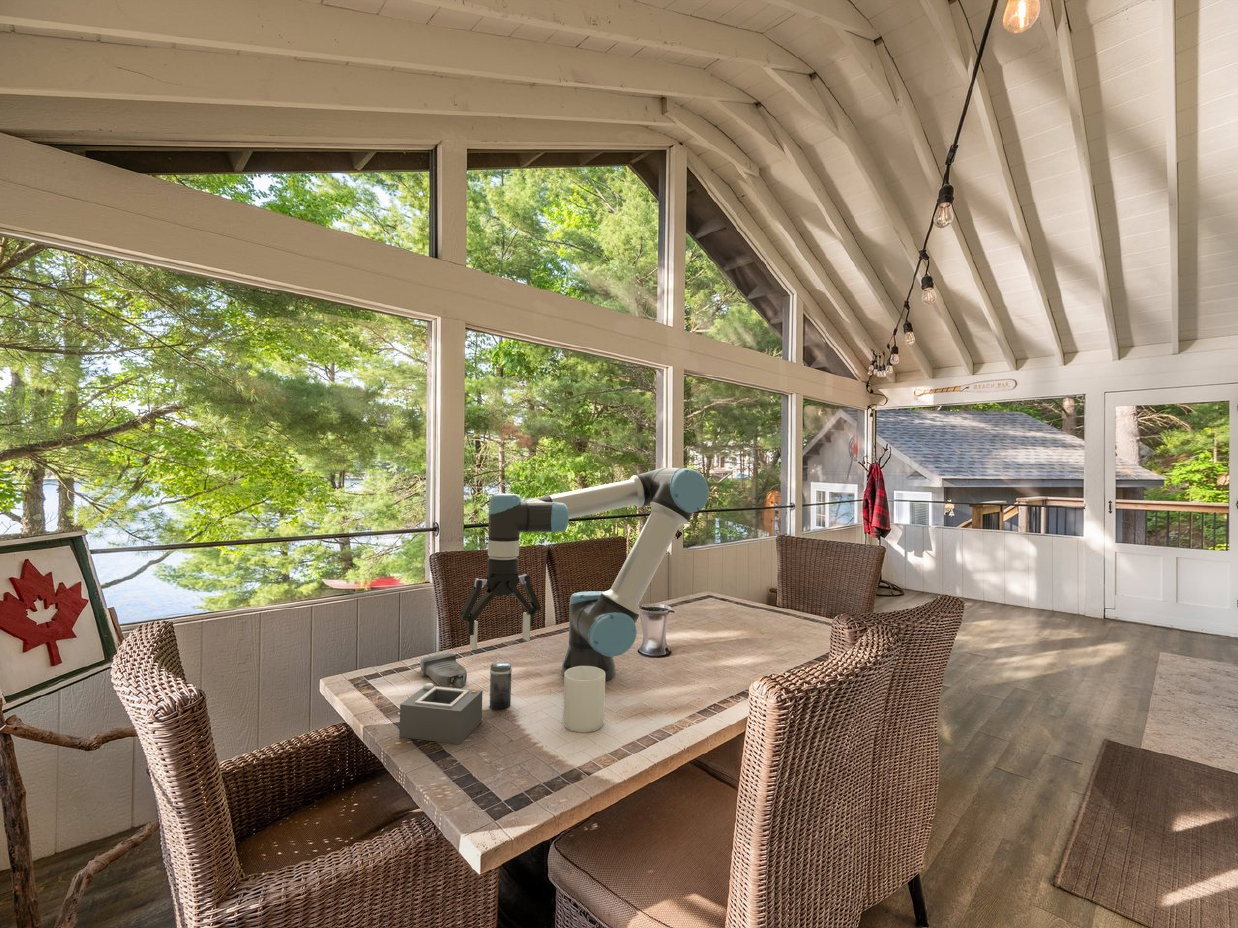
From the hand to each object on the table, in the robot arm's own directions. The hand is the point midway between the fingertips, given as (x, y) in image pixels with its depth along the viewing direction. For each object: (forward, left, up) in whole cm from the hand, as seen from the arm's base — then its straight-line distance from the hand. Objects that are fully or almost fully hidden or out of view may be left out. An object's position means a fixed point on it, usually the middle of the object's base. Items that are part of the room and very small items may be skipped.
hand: (500, 643), depth 138 cm
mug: (-21, +4, -16) cm, 27 cm away
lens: (0, 0, -15) cm, 15 cm away
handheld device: (+21, -13, -16) cm, 29 cm away
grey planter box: (+8, +14, -15) cm, 22 cm away
